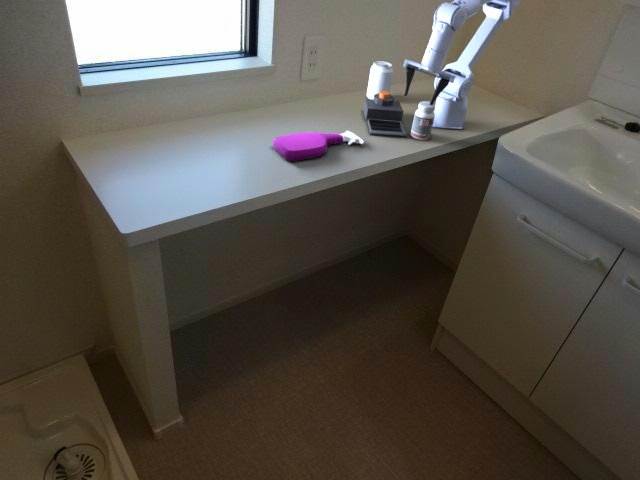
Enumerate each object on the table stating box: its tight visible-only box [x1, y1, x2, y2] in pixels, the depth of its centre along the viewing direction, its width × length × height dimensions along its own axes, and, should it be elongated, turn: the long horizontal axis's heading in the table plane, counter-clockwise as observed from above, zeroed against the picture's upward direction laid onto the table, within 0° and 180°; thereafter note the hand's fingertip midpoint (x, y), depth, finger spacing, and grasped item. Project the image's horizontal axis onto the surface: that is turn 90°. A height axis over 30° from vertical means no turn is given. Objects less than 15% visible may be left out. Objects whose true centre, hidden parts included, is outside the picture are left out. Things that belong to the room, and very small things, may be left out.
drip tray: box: [366, 119, 407, 138], centre depth 145 cm, size 10×9×1 cm
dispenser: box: [363, 93, 404, 122], centre depth 152 cm, size 11×9×6 cm
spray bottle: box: [272, 130, 365, 162], centre depth 131 cm, size 3×11×24 cm
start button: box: [379, 91, 391, 99], centre depth 151 cm, size 3×3×2 cm
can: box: [366, 60, 394, 99], centre depth 162 cm, size 8×8×12 cm
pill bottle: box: [410, 100, 436, 141], centre depth 141 cm, size 6×6×10 cm
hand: (418, 100), depth 138 cm, fingers open, 7 cm apart
